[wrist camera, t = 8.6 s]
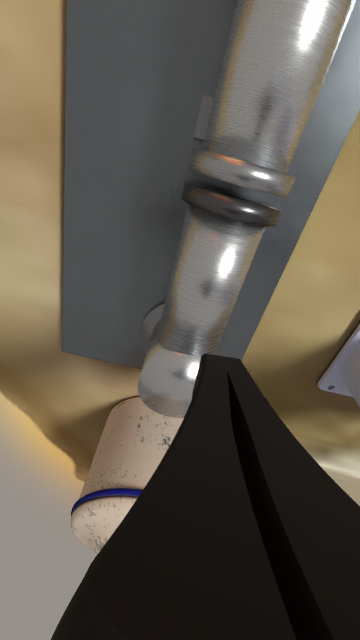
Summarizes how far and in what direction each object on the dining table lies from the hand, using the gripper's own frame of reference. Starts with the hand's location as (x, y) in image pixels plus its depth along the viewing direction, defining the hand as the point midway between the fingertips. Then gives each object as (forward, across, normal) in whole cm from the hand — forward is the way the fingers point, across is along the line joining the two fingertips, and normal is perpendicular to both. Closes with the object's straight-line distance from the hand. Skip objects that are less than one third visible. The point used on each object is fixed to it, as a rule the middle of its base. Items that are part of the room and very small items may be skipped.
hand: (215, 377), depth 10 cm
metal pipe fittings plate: (+10, +2, -4) cm, 11 cm away
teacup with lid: (+10, +1, +16) cm, 19 cm away
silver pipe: (+9, +1, +1) cm, 9 cm away
